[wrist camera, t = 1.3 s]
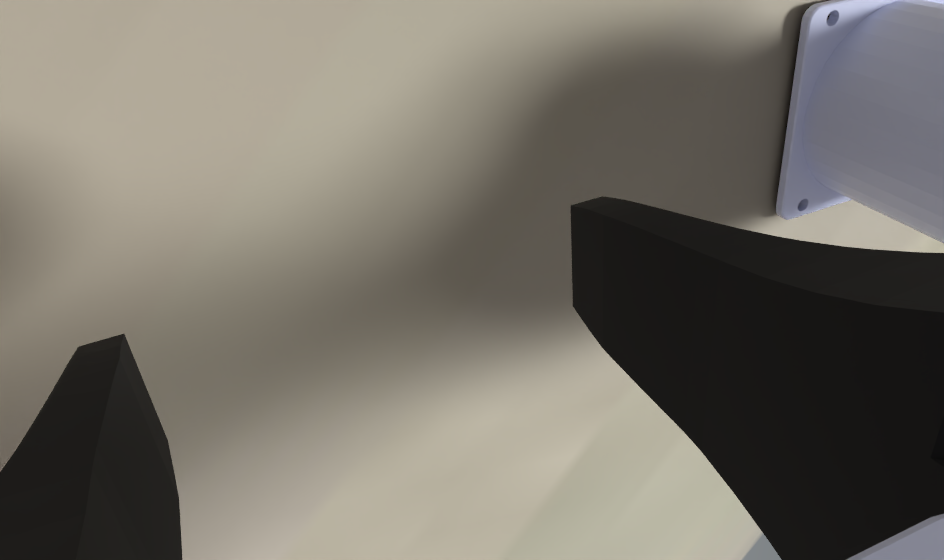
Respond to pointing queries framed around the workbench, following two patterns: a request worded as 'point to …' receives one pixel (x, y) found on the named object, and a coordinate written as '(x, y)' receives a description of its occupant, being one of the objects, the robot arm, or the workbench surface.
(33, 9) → the workbench surface
